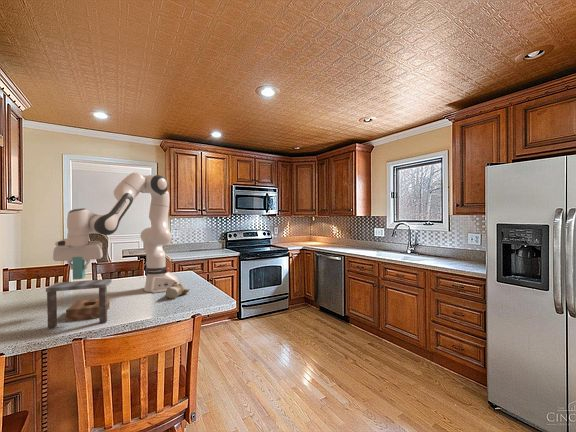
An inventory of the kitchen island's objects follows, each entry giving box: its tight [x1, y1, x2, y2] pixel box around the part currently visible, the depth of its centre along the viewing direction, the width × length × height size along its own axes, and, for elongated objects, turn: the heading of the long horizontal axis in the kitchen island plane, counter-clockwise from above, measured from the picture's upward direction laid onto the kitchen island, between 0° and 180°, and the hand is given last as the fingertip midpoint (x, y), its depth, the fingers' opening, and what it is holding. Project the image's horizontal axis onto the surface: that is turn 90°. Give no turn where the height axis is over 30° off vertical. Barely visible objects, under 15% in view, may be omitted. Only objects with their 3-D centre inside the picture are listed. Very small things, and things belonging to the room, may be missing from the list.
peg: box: [71, 257, 86, 280], centre depth 145 cm, size 4×4×11 cm
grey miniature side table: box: [45, 278, 112, 329], centre depth 137 cm, size 22×22×18 cm
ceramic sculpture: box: [165, 282, 191, 300], centre depth 170 cm, size 11×9×15 cm
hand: (79, 269), depth 145 cm, fingers closed on peg, 4 cm apart
